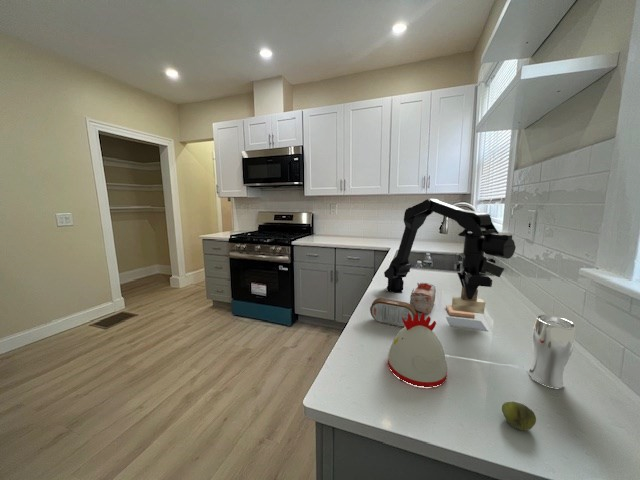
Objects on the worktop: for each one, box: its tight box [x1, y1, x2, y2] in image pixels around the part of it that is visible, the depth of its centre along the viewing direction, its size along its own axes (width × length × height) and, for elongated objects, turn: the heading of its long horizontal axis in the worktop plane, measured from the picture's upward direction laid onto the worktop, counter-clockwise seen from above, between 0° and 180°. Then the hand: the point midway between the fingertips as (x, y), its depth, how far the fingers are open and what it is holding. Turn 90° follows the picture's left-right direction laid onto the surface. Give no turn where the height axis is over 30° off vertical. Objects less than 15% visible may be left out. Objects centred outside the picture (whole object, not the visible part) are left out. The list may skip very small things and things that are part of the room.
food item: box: [409, 282, 437, 315], centre depth 96 cm, size 14×8×10 cm, turn 149°
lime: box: [501, 401, 537, 431], centre depth 46 cm, size 4×5×5 cm
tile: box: [445, 304, 476, 319], centre depth 92 cm, size 8×2×6 cm
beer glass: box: [528, 314, 577, 389], centre depth 57 cm, size 7×7×15 cm
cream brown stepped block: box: [451, 285, 486, 315], centre depth 82 cm, size 9×2×8 cm, turn 74°
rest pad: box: [445, 316, 489, 332], centre depth 84 cm, size 11×7×1 cm, turn 74°
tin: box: [369, 297, 417, 328], centre depth 84 cm, size 15×3×8 cm, turn 65°
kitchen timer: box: [387, 311, 448, 387], centre depth 62 cm, size 14×14×15 cm
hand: (468, 297), depth 82 cm, fingers closed on cream brown stepped block, 2 cm apart
